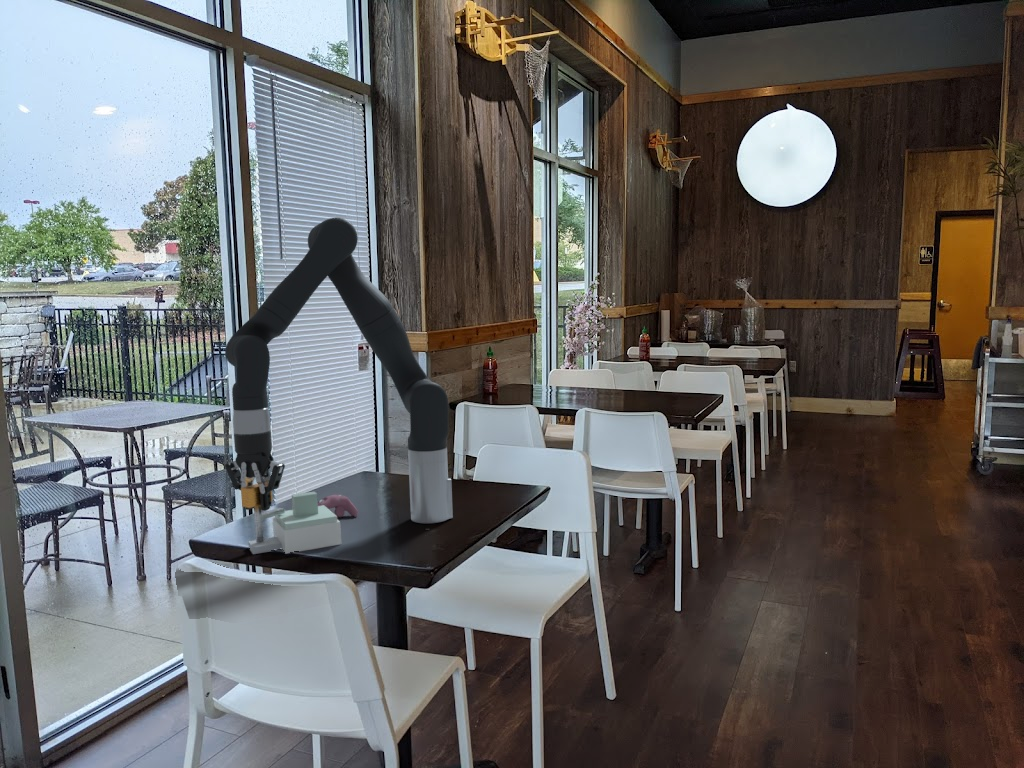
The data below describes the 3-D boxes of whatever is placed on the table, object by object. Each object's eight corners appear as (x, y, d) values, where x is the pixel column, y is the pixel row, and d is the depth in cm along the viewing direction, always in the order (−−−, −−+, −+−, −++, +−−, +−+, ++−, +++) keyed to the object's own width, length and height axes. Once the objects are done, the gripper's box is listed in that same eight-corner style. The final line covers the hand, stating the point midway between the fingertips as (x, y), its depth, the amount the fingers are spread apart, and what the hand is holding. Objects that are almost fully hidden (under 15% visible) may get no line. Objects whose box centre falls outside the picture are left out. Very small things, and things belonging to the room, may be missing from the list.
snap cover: (324, 510, 184) (322, 485, 184) (337, 521, 175) (336, 495, 174) (275, 517, 179) (273, 492, 179) (286, 529, 170) (284, 503, 169)
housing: (326, 530, 185) (325, 509, 185) (341, 544, 175) (340, 521, 174) (246, 543, 177) (244, 521, 177) (256, 558, 167) (254, 535, 166)
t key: (280, 533, 178) (276, 479, 177) (287, 534, 177) (283, 480, 176) (244, 544, 171) (240, 487, 170) (251, 545, 170) (248, 489, 168)
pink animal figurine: (350, 520, 199) (340, 494, 201) (360, 514, 197) (351, 488, 198) (318, 530, 192) (308, 502, 193) (328, 524, 189) (318, 496, 190)
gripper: (291, 427, 171) (296, 506, 173) (235, 426, 176) (240, 503, 178) (270, 433, 164) (275, 515, 166) (212, 432, 169) (218, 512, 170)
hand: (257, 508), depth 172 cm, fingers closed on t key, 3 cm apart
